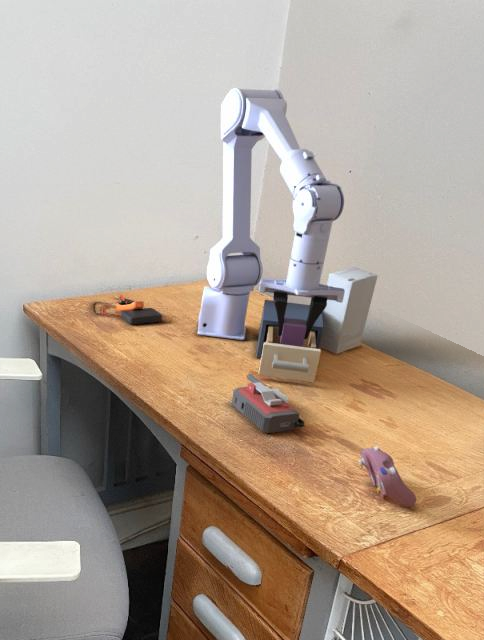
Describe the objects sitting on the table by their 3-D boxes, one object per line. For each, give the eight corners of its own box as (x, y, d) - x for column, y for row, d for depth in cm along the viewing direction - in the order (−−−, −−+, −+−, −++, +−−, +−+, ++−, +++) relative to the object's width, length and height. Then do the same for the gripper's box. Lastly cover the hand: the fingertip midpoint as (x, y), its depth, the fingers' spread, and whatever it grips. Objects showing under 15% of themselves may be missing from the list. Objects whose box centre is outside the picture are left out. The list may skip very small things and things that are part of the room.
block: (279, 345, 140) (283, 324, 138) (280, 338, 143) (284, 317, 141) (302, 348, 140) (306, 327, 137) (302, 340, 143) (306, 319, 141)
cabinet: (314, 365, 148) (323, 327, 143) (256, 358, 149) (262, 319, 145) (313, 343, 158) (321, 306, 154) (258, 336, 159) (264, 299, 155)
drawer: (314, 393, 134) (321, 361, 131) (257, 385, 136) (262, 354, 132) (312, 359, 148) (318, 329, 145) (260, 352, 149) (265, 323, 146)
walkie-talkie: (314, 432, 124) (252, 381, 139) (320, 406, 121) (256, 358, 137) (266, 438, 121) (208, 386, 136) (271, 412, 118) (211, 362, 134)
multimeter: (80, 299, 172) (80, 283, 170) (130, 296, 176) (131, 281, 174) (109, 327, 158) (110, 310, 156) (162, 323, 162) (164, 307, 160)
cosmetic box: (337, 338, 161) (353, 265, 153) (361, 347, 158) (379, 273, 150) (311, 345, 157) (327, 271, 149) (336, 355, 153) (353, 279, 145)
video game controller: (361, 481, 114) (351, 443, 111) (391, 470, 114) (382, 431, 110) (387, 519, 106) (376, 479, 102) (419, 506, 105) (410, 466, 102)
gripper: (264, 260, 131) (251, 338, 138) (351, 270, 129) (333, 348, 137) (265, 250, 137) (252, 325, 144) (349, 260, 135) (332, 335, 142)
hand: (292, 335), depth 141 cm, fingers closed on block, 4 cm apart
